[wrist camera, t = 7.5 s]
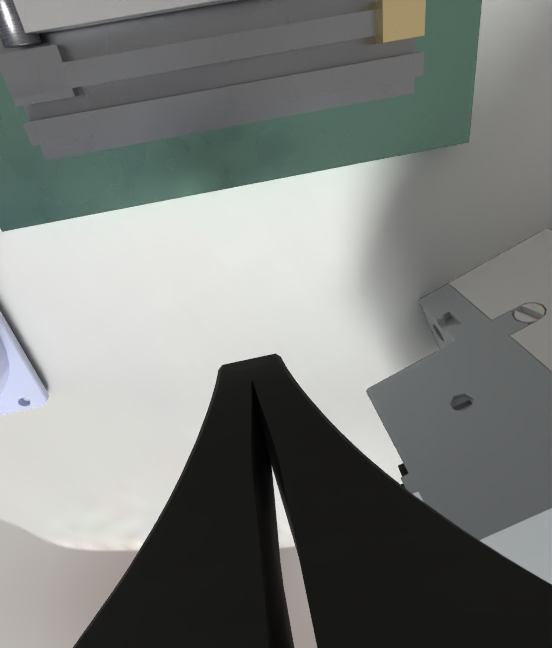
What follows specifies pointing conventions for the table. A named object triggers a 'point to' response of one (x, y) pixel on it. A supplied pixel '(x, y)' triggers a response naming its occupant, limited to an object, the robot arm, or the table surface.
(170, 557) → the robot arm
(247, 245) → the table surface
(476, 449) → the circuit breaker
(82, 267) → the table surface
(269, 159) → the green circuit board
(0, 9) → the grey flat bar
